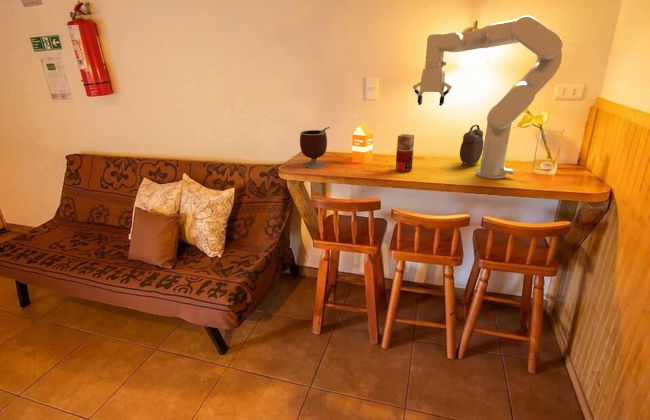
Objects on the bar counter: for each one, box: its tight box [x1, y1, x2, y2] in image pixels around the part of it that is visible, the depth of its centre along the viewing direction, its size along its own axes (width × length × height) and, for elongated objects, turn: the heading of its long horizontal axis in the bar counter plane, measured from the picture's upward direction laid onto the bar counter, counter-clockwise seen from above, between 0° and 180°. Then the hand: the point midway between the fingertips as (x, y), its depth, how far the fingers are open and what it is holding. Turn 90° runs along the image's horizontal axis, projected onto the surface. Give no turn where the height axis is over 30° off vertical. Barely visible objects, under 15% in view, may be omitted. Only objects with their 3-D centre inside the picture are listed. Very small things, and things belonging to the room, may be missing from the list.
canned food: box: [395, 147, 414, 173], centre depth 170 cm, size 8×8×11 cm
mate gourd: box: [299, 126, 330, 169], centre depth 181 cm, size 16×14×20 cm
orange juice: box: [351, 121, 374, 164], centre depth 187 cm, size 8×9×20 cm
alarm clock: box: [459, 124, 484, 167], centre depth 175 cm, size 15×7×20 cm, turn 135°
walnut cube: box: [396, 133, 415, 150], centre depth 167 cm, size 6×6×6 cm
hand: (430, 105), depth 163 cm, fingers open, 9 cm apart
